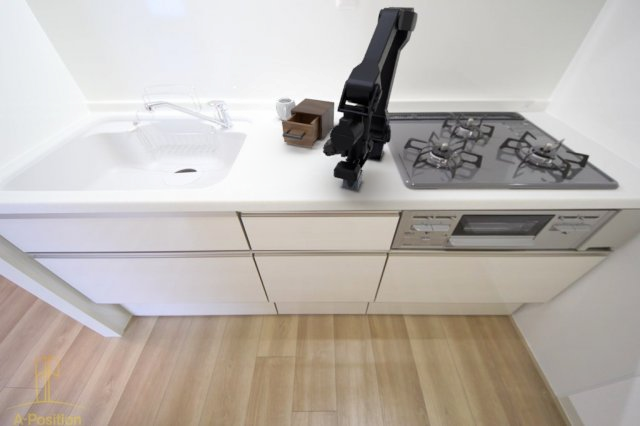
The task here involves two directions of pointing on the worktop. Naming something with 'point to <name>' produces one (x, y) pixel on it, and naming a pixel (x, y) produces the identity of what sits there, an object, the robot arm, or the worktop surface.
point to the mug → (285, 107)
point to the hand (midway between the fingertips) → (352, 182)
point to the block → (355, 185)
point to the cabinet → (317, 113)
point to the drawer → (301, 129)
